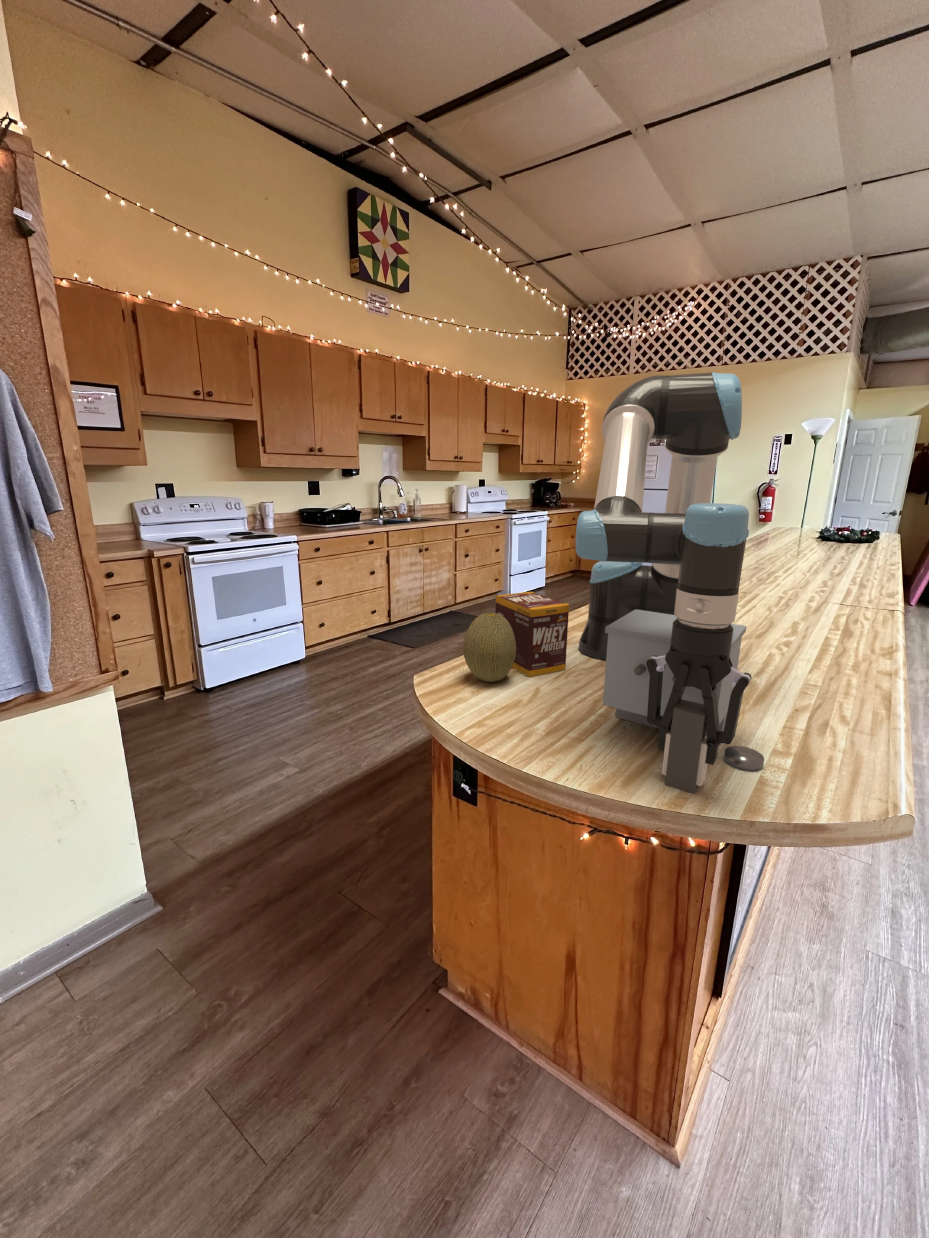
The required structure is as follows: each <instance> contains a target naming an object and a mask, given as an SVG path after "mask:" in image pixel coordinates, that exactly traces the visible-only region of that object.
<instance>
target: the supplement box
mask: <svg viewBox="0 0 929 1238" xmlns="http://www.w3.org/2000/svg"><path fill="white" fill-rule="evenodd" d="M569 612H570V603H566V602H562V601H560V600H557V599H555V598H551V597H549V596H545V595H543V594H540V593H536V592H534V591H526V592H525V591H524V592H516V593H507V594H498V595H495V611H494V613H497V614H500V615H502V616H503V617H504V618H505V619H506V620H507V621H508V622H509V624H510V626H511V628H512V630H513V633H514V636H515V641H516V654H515V660H514V663H513V665H512V667H513V668H512V669H514V668H515V669H517V670H518V672H519V671H520V672H522V673H523V675H524V674H525V675H524V676H526V677H527V676H528V677H527V678H530V677H531V678H532V677H536V675H537V676H541V675H546V674H552V673H557V672H561V671H566V665H567V649H568V648H567V647H568V631H569ZM515 669H514V670H515ZM517 670H516V671H517ZM520 672H519V673H520ZM522 673H521V674H522Z"/></svg>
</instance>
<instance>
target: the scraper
mask: <svg viewBox="0 0 929 1238" xmlns="http://www.w3.org/2000/svg"><path fill="white" fill-rule="evenodd" d="M705 736H707V732H706V722H705V711H704V704H700V703H696V702H692V701H687V700H683V699H681V701H680V702H679V704H678V705H677V706H676V707H675V708H674V711H673V719H672V728H671V736H670V745H669V754H668V762H667V771H666V775H665V781H664V785H665V786H668V787H672V788H674V789H678V790H680V791H683V792H687V793H690V794H694V795H695V793H696V790H697V788H698V787H699V786H698V785H696V780H697V772H698V765H699V757H700V750H701V743H702V741H703V740H704V738H705Z"/></svg>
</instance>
